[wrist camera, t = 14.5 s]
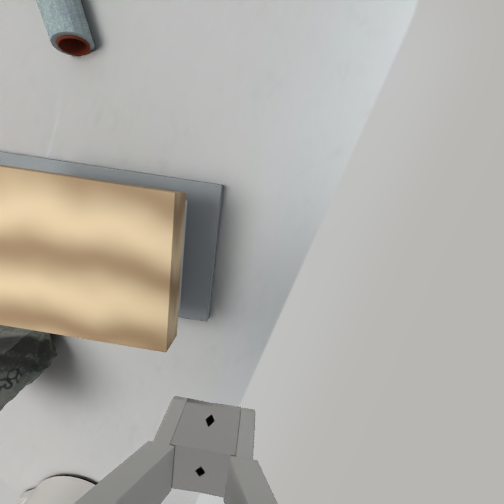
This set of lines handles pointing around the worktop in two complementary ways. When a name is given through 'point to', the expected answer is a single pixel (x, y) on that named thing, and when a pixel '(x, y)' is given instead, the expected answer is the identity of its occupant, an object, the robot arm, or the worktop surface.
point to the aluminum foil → (67, 26)
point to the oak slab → (90, 257)
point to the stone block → (22, 359)
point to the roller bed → (194, 221)
